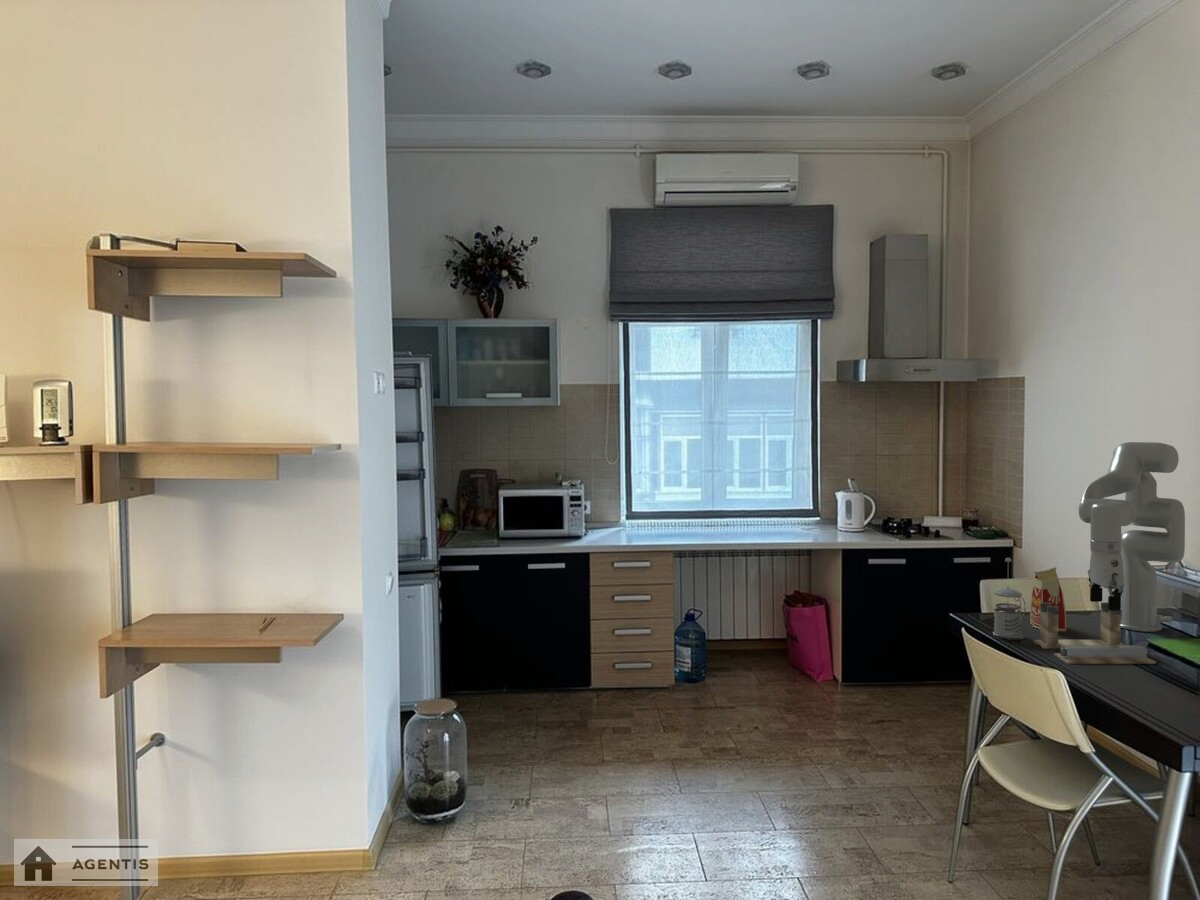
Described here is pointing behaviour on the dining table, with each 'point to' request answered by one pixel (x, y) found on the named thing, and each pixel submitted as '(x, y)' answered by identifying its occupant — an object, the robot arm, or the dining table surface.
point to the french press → (1008, 613)
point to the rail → (1104, 652)
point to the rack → (1050, 640)
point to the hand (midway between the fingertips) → (1105, 605)
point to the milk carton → (1047, 597)
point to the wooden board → (1105, 661)
